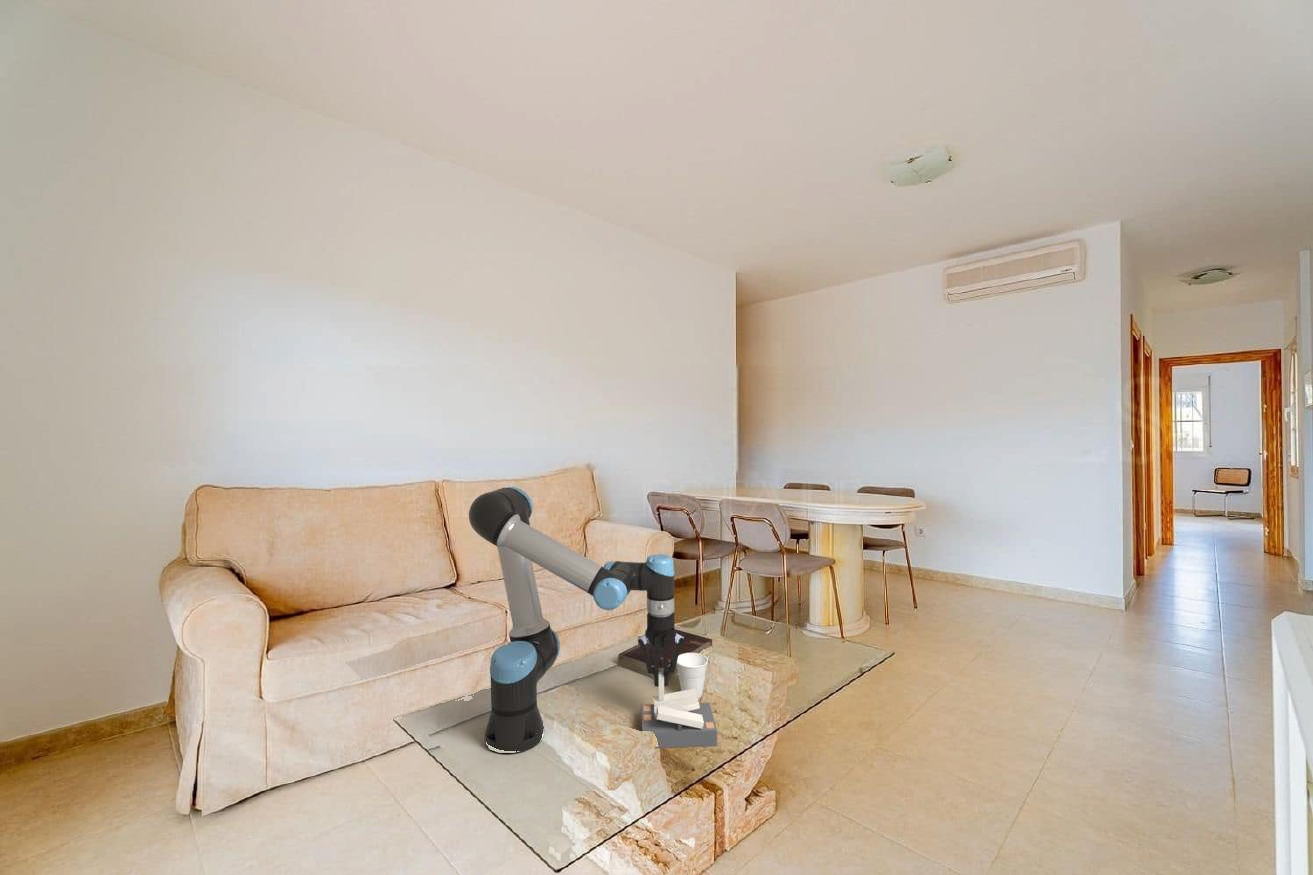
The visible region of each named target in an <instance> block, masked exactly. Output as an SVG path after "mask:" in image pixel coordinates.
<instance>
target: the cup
mask: <svg viewBox="0 0 1313 875" xmlns="http://www.w3.org/2000/svg"><path fill="white" fill-rule="evenodd" d="M708 663H709V658H708V657H707V655H706V656H704V655H702V654H698V653H684V654H681V655H679V656H678V660H677V669H678V673H677V674H678V678H679V686H680V691H684V690H689V689H695V688H696V692H697V696H698V700H699V699H701V697H702V696H703V691H704V685H705V679H706V673H707V667H708Z"/></svg>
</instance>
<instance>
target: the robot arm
mask: <svg viewBox="0 0 1313 875" xmlns="http://www.w3.org/2000/svg"><path fill="white" fill-rule="evenodd" d="M533 511H534V510H533V502H532V499H531V498H530V496H529V494H528V493H527V492H526V491H524V490H523V489H521V488H519V487H516V486H515V487H514V486H509V487H500V488H498V489H496V490H492V491H489V492H485V493H482V494H480V495H478V497H476V498H475V499H474V500H473V501H472V503H471V504H470V507H469V511H468V520H469V524H470V526H471V528H472V529H473V530H474V531H475V533H476V535H477V534H478V536H479V537H481V538H482V539H484V540H485V541H487V542H488V543H490V544H492V545H494V546H496V547H497V553H498V557H499V558H498V559H499V562H500V567H501V571H502V577H503V584H504V587H505V592H506V596H507V602H508V608H509V611H510V612H509V613H510V617H511V623H512V627H511V629H510V630H509V632H508V637H509V641H510V642H507V644H506V643H505V644H502V645H500V646H499V647H497V648H496V649H495V650H494V652H493V653H492V655H491V657H490V666H489V673H490V702H491V703H490V704H491V706H490V707H491V709H490V710H491V711H490V715H489V718H488V722H487V724H486V727H485V731H484V741H485V740H486V742H487V744H488V745H490V746H492V747H494V748H496V749H499V750H504V751H516V752H517V751H523V752H525V751H524V750H526V751H529V750H530V749H533V748H535V747H536V746H537V745H538V744H540V743H541V741H542V740H541V738H542V734H543V729H544V730H545V725H544V726H543V723H544V721H543V718H542V715H541V712H540V710H539V707H538V699H537V698H538V691H537V690H538V687H537V686H538V683H539V682H540V680H541V679H542V677H544V675H545V674H546V673H547V672H548V671H549V670H550V669H551V667H553V666H554V664H555V662H556V660H557V658H558V656H559V653H560V649H561V644H560V642H561V641H560V638H559V636H558V634H557V632H556V631H555V630H553V629H552V628H551V624H550V623H551V622H550V620H549V621H548V619H546V618H544V615H543V612H542V606H541V601H540V595H539V591H538V587H537V581H536V576H535V570H534V565H533V563H534V564H536V565H537V566H539V567H541V568H543V569H544V570H546V571H548V572H550V573H552V574H553V575H555V576H557V577H558V578H560V579H562V580H564V581H565V582H567V583H570V584H571V585H573V586H575V587H577V588H579V590H582V591H583V592H585V593H587V594H589V595H590V596H591V597H593V600H594V602H595V605H597V607H598V608H600V609H601V610H604V611H613V610H615V609H617V608H619V606H621V605H622V604H623V602H625V600H626V599H627V597H628V595H629V594H630V593H631V591H638V592H639V591H640V592H641V591H642V592H643V591H644V592H646V612H647V613H646V629H645V631H644V632H645V633H644V634H643V635H642V636H640V635H639V636H638V637H637V643H638V644H639V645H640V646H641V648H642V651H643V655H644V659H645V663H646V667H647V671H648V673H649V674H654V679H653V682H654V683H653V684H654V687H657V688H658V689H657V690H658V691H657V692H658V695H657V696H659V700H664V694H665V687H668V686H669V678H668V675H669V673H674V672H675V668H676V664H677V660H678V655H679V651H680V647H681V646H682V644H683V642H684V638H683V636H682V635H678V634H677V633H676V630H677V629H676V627H675V613H674V612H675V573H676V572H675V565H674V559H673V557H671V556H670V555H668V554H665V553H664V554H662V553H658V554H650V555H649V556H647V557H646V561H645V562H640V561H639V562H635V561H634V562H633V561H632V562H631V561H619V560H616V561H607V562H605V564H604V565H603V566H602V565H601V564H599V563H597V562H595V561H593V560H592V559H590V558H588V557H586V555H585V556H584V555H583V554H581V553H579V552H577V551H576V550H574V549H572V548H571V547H568V546H567V545H564V543H561V542H560V541H557V539H555V538H552V537H551V536H549V535H547V534H545V533H544V532H542V531H540V530H538V529H537V528H535V527H533V526H531V522H530V518H531V517H532V516H531V515H532V513H533ZM675 629H676V630H675ZM674 638H675V642H676V643H675V647H674V651H673V655H672V659H671V663H670V666H669V667H668V646H669V645H670V643H671V642H672V641H673V639H674ZM647 640H649V641H650V643H651V644H652V645H653V646H654V667H652V666H651V662H650V658H649V654H648V650H647V646H646V643H647ZM638 644H637V645H638ZM659 647H663V672H659ZM540 740H541V741H540ZM528 749H529V750H528Z"/></svg>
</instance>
